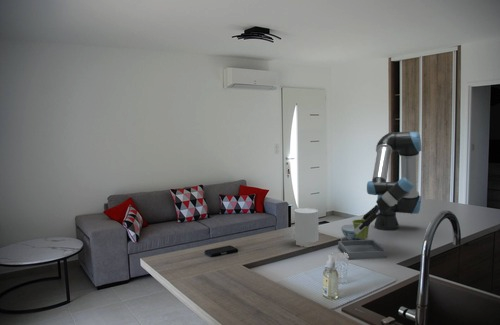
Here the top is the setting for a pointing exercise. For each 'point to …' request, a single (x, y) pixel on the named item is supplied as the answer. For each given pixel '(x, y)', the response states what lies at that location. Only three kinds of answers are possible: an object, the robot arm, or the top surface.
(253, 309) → the top surface
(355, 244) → the tray
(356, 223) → the plant pot
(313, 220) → the canister
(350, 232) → the chinaware
